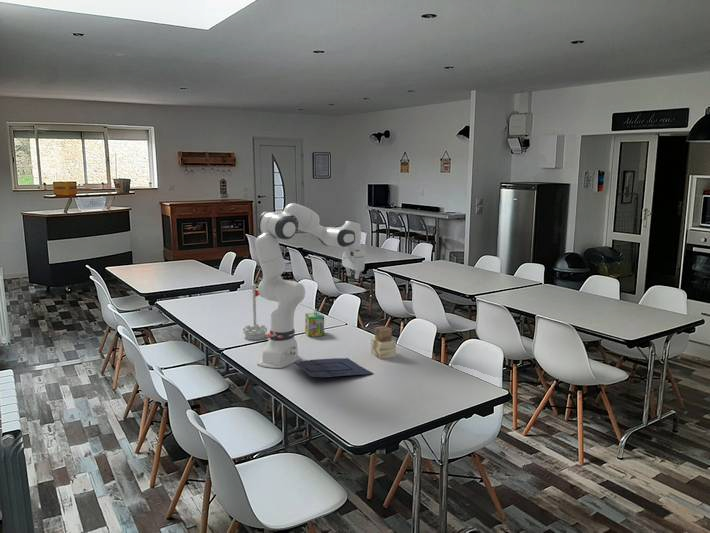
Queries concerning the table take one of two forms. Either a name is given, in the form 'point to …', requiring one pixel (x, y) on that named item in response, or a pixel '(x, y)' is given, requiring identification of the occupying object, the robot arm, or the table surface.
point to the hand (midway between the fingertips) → (352, 277)
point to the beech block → (383, 348)
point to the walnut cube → (383, 334)
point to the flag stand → (255, 330)
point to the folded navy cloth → (331, 367)
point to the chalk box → (314, 324)
